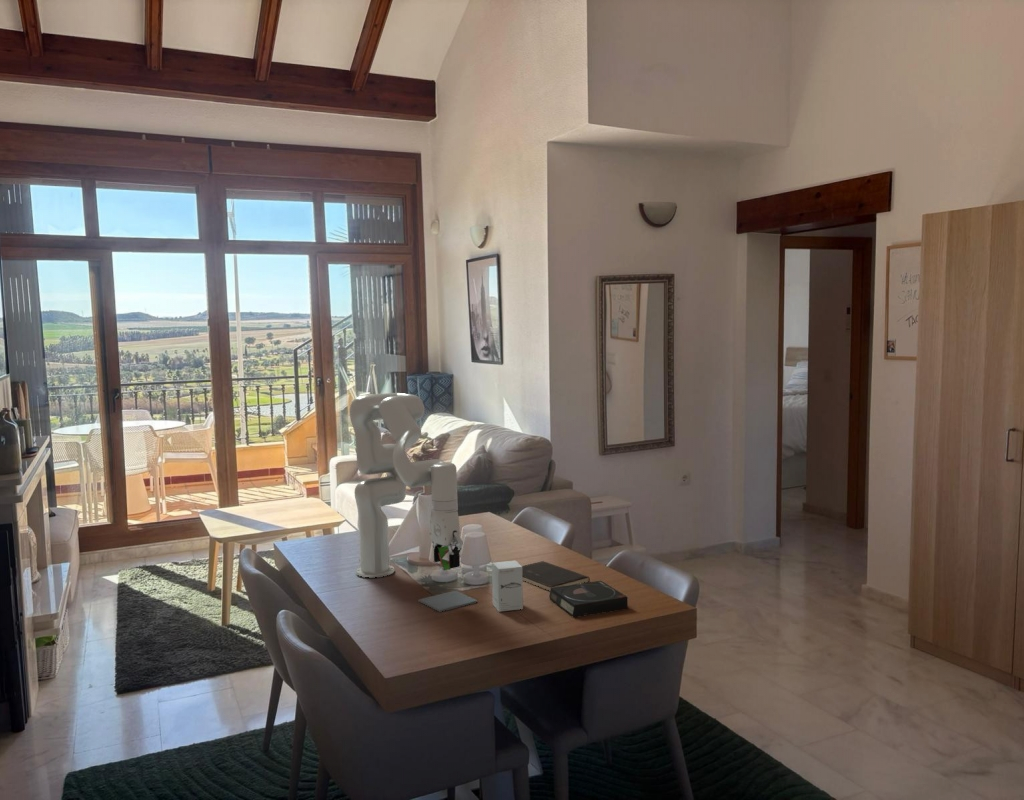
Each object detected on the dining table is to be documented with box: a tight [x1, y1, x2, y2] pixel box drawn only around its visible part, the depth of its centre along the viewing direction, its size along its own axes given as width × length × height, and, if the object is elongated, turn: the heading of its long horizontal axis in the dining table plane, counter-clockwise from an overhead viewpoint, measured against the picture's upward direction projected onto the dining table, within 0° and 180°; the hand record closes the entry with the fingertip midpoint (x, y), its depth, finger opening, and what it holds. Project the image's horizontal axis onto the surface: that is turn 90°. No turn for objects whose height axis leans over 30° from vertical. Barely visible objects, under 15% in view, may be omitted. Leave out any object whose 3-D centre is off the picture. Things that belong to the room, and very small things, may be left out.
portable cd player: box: [548, 580, 629, 618], centre depth 230 cm, size 16×17×4 cm
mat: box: [417, 590, 478, 613], centre depth 235 cm, size 12×13×1 cm
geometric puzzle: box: [433, 546, 452, 571], centre depth 234 cm, size 7×7×8 cm
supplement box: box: [491, 560, 524, 613], centre depth 229 cm, size 7×7×13 cm
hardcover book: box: [521, 560, 591, 592], centre depth 256 cm, size 16×23×2 cm
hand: (446, 563), depth 234 cm, fingers closed on geometric puzzle, 8 cm apart
